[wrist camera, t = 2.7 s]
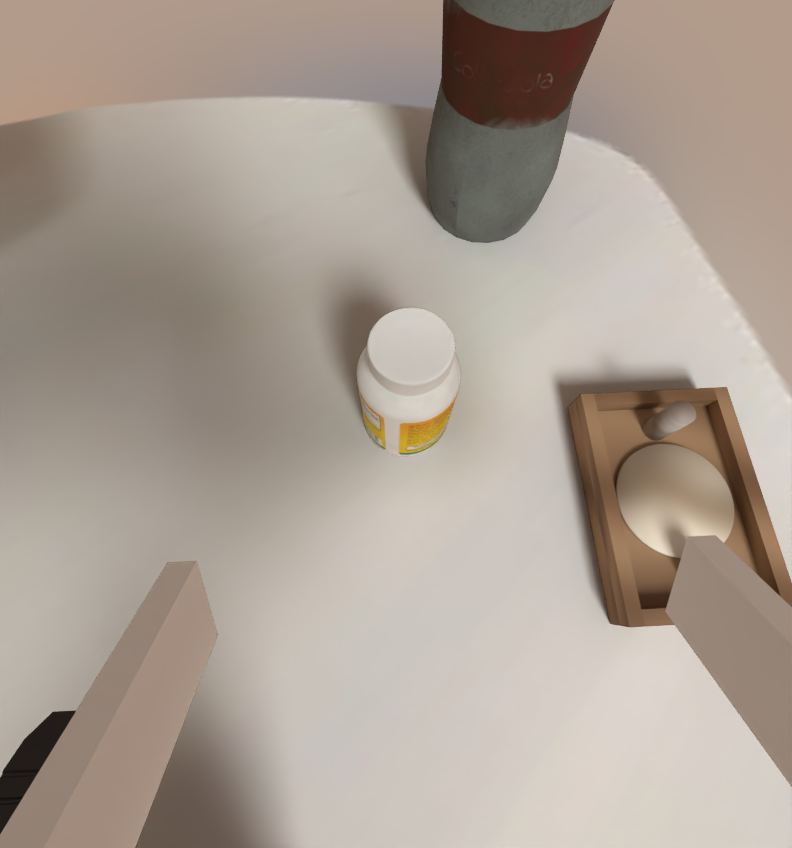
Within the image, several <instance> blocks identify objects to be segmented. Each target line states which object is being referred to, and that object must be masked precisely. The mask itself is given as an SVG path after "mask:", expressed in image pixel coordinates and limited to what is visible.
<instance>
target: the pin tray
mask: <svg viewBox="0 0 792 848" xmlns="http://www.w3.org/2000/svg"><path fill="white" fill-rule="evenodd" d="M568 410H569V416H570V421H571V426H572V431H573V436H574V441H575V446H576V451H577V456H578V462H579V467H580V472H581V477H582V482H583V487H584V492H585V497H586V502H587V508H588V513H589V518H590V523H591V528H592V533H593V538H594V543H595V548H596V554H597V559H598V564H599V569H600V574H601V579H602V584H603V589H604V594H605V600H606V605H607V610H608V615H609V620H610V624H614V625H620V626H625V627H643V626H661V625H675V624H674V623H673V622H672V620H671V619H670V617H669V616H668V615H667V613H666V612H665V610H666V607H667V603H668V600H669V597H670V593H671V590H672V587H673V583H674V580H675V577H676V573H677V570H678V567H679V563H680V560H681V557H682V553H683V550H684V547H685V543H686V540H687V537H689V536H709V535H716V536H717V537H718V538H719V539H720V540H721V541H722V542H723V543H725V544H726V545H727V546H728V547H729V548H730V549H731V550H732V551H733V552H734V553H735V554H736V555H737V556H738V557H739V558H740V559H741V560H742V561H743V562H745V563H746V564H747V565H748V566H749V567H750V568H751V569H752V570H753V571H754V572H755V573H756V574H757V575H758V576H759V577H760V578H761V579H762V580H763V581H765V582H766V583H767V584H768V585H769V586H770V587H771V588H772V589H773V590H774V591H775V592H776V593H777V594H778V595H779V596H780V597H781V598H782V599H783V600H785V601H786V602H787V603H788V604H789V605H790V606H791V607H792V583H791V579H790V576H789V573H788V570H787V567H786V564H785V561H784V558H783V555H782V552H781V549H780V546H779V543H778V540H777V537H776V534H775V531H774V528H773V525H772V522H771V519H770V516H769V513H768V510H767V507H766V504H765V501H764V498H763V495H762V492H761V489H760V486H759V483H758V480H757V477H756V474H755V471H754V468H753V465H752V462H751V459H750V456H749V453H748V450H747V447H746V444H745V441H744V438H743V435H742V432H741V429H740V426H739V423H738V420H737V417H736V414H735V411H734V408H733V405H732V402H731V399H730V396H729V393H728V390H727V387H720V388H699V389H678V390H656V391H635V392H614V393H593V394H580V396H579V397H578V398H577V399H576V400H575V401H574V402H573V403H572V404H571V405H570V406H569V407H568Z"/></svg>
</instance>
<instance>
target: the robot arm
mask: <svg viewBox="0 0 792 848" xmlns="http://www.w3.org/2000/svg"><path fill="white" fill-rule="evenodd" d="M665 612H666V613H667V615H668V616H669V617H670V619H671V620H672V622H673V623H674V624H675V626H676V627H677V628H678V630H679V631H680V633H681V634H682V635H683V637H684V638H685V640H686V641H687V642H688V644H689V645H690V647H691V648H692V649H693V651H694V652H695V653H696V655H697V656H698V658H699V659H700V660H701V662H702V663H703V665H704V666H705V667H706V669H707V670H708V671H709V673H710V674H711V676H712V677H713V678H714V680H715V681H716V683H717V684H718V685H719V687H720V688H721V689H722V691H723V692H724V694H725V695H726V696H727V698H728V699H729V701H730V702H731V703H732V705H733V706H734V708H735V709H736V710H737V712H738V713H739V714H740V716H741V717H742V719H743V720H744V721H745V723H746V724H747V726H748V727H749V728H750V730H751V731H752V732H753V734H754V735H755V737H756V738H757V739H758V741H759V742H760V744H761V745H762V746H763V748H764V749H765V751H766V752H767V753H768V755H769V756H770V757H771V759H772V760H773V762H774V763H775V764H776V766H777V767H778V769H779V770H780V771H781V773H782V774H783V775H784V777H785V778H786V780H787V781H788V782H789V784H790V785H791V787H792V607H791V606H790V605H789V604H788V603H787V602H786V601H785V600H783V599H782V598H781V597H780V596H779V595H778V594H777V593H776V592H775V591H774V590H773V589H772V588H771V587H770V586H769V585H768V584H767V583H766V582H765V581H763V580H762V579H761V578H760V577H759V576H758V575H757V574H756V573H755V572H754V571H753V570H752V569H751V568H750V567H749V566H748V565H747V564H746V563H745V562H743V561H742V560H741V559H740V558H739V557H738V556H737V555H736V554H735V553H734V552H733V551H732V550H731V549H730V548H729V547H728V546H727V545H726V544H725V543H723V542H722V541H721V540H720V539H719V538H718V537H717V536H716V535H709V536H689V537H687V540H686V543H685V547H684V550H683V553H682V557H681V560H680V563H679V567H678V570H677V573H676V577H675V580H674V583H673V587H672V590H671V593H670V597H669V600H668V603H667V607H666V610H665ZM217 636H218V633H217V630H216V626H215V623H214V619H213V616H212V613H211V609H210V606H209V602H208V599H207V595H206V592H205V588H204V585H203V581H202V578H201V574H200V571H199V568H198V564H197V561H188V562H168V563H167V564H166V566H165V567H164V569H163V571H162V572H161V574H160V576H159V577H158V579H157V580H156V582H155V584H154V585H153V587H152V589H151V590H150V592H149V593H148V595H147V597H146V598H145V600H144V602H143V603H142V605H141V606H140V608H139V610H138V611H137V613H136V615H135V616H134V618H133V619H132V621H131V623H130V624H129V626H128V628H127V629H126V631H125V632H124V634H123V636H122V637H121V639H120V641H119V642H118V644H117V645H116V647H115V649H114V650H113V652H112V654H111V655H110V657H109V658H108V660H107V662H106V663H105V665H104V667H103V668H102V670H101V671H100V673H99V675H98V676H97V678H96V680H95V681H94V683H93V684H92V686H91V688H90V689H89V691H88V693H87V694H86V696H85V697H84V699H83V701H82V702H81V704H80V706H79V707H78V709H77V711H60V712H52V713H51V714H50V715H49V716H48V717H47V718H46V719H45V720H44V721H43V722H42V723H41V724H40V725H39V726H38V727H37V728H36V729H35V730H34V731H33V732H32V733H31V734H29V735H28V736H27V737H26V738H25V739H24V741H23V742H22V744H21V745H20V747H19V748H18V750H17V751H16V752H15V754H14V755H13V757H12V758H11V760H10V761H9V763H8V764H7V766H6V767H5V769H4V770H3V774H2V776H1V778H0V848H135V847H136V844H137V842H138V839H139V837H140V834H141V831H142V829H143V826H144V824H145V821H146V818H147V816H148V813H149V811H150V808H151V806H152V803H153V800H154V798H155V795H156V793H157V790H158V788H159V785H160V782H161V780H162V777H163V775H164V772H165V770H166V767H167V764H168V762H169V759H170V757H171V754H172V752H173V749H174V746H175V744H176V741H177V739H178V736H179V734H180V731H181V728H182V726H183V723H184V721H185V718H186V716H187V713H188V710H189V708H190V705H191V703H192V700H193V697H194V695H195V692H196V690H197V687H198V685H199V682H200V679H201V677H202V674H203V672H204V669H205V667H206V664H207V661H208V659H209V656H210V654H211V651H212V649H213V646H214V643H215V641H216V638H217Z"/></svg>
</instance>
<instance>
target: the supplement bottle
mask: <svg viewBox="0 0 792 848" xmlns="http://www.w3.org/2000/svg"><path fill="white" fill-rule="evenodd" d="M460 381H461V369H460V364H459V360H458V357H457V355H456V353H455V342H454V337H453V334H452V332H451V330H450V328H449V326H448V325H447V324H446V323H445V321H444V320H443V319H442V318H440V317H439V316H438V315H436V314H434V313H433V312H431V311H428V310H425V309H422V308H415V307H407V308H401V309H397V310H393V311H391V312H389V313H387V314H385V315H384V316H383V317H381V318H380V319H379V320H378V321H377V322H376V323H375V325H374V326H373V328H372V329H371V331H370V334H369V337H368V342H367V346H366V347H365V348H364V350H363V352H362V353H361V356H360V358H359V361H358V365H357V385H358V391H359V397H360V402H361V407H362V414H363V420H364V424H365V428H366V431H367V433H368V435H369V437H370V438H371V439H372V441H373V442H374V443H375V444H376V445H377V446H378V447H379V448H381V449H382V450H384V451H386V452H388V453H390V454H393V455H397V456H413V455H417V454H420V453H422V452H425V451H427V450H428V449H430V448H432V447H433V446H434V445H435V444H436V443H437V442H438V441H439V440H440V438H441V437H442V435H443V433H444V431H445V429H446V426H447V423H448V420H449V417H450V414H451V411H452V408H453V404H454V401H455V399H456V396H457V393H458V390H459V386H460Z"/></svg>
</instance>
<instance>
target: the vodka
mask: <svg viewBox="0 0 792 848" xmlns="http://www.w3.org/2000/svg"><path fill="white" fill-rule="evenodd" d="M613 2H614V0H443V40H442V41H443V42H442V44H443V45H442V78H441V83H440V87H439V91H438V96H437V100H436V105H435V109H434V114H433V119H432V124H431V129H430V135H429V140H428V145H427V154H426V176H427V192H428V196H429V199H430V203H431V207H432V210H433V213H434V216H435V219H436V220H437V221H438V222H439V223H440V225H441V226H442V227H443V228H444V229H445V230H446V231H448V232H449V233H451V234H453V235H454V236H456V237H458V238H461V239H464V240H467V241H471V242H483V243H489V242H494V241H499V240H504V239H506V238H508V237H510V236H512V235H513V234H515V233H517V232H518V231H519V230H520V229H521V228H522V227H523V226H524V225H525V224H526V223H527V221H528V220H529V219H530V218H531V216H532V215H533V214H534V213H535V211H536V210H537V208H538V206H539V204H540V202H541V200H542V198H543V197H544V195H545V193H546V191H547V189H548V187H549V185H550V183H551V181H552V179H553V176H554V174H555V171H556V169H557V165H558V161H559V157H560V153H561V149H562V145H563V141H564V137H565V133H566V128H567V123H568V119H569V113H570V109H571V105H572V100H573V95H574V92H575V90H576V88H577V85H578V83H579V81H580V78H581V76H582V74H583V71H584V69H585V67H586V64H587V62H588V60H589V57H590V55H591V53H592V51H593V48H594V46H595V44H596V41H597V39H598V37H599V34H600V32H601V30H602V27H603V25H604V23H605V20H606V18H607V16H608V14H609V11H610V9H611V7H612V4H613Z"/></svg>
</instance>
